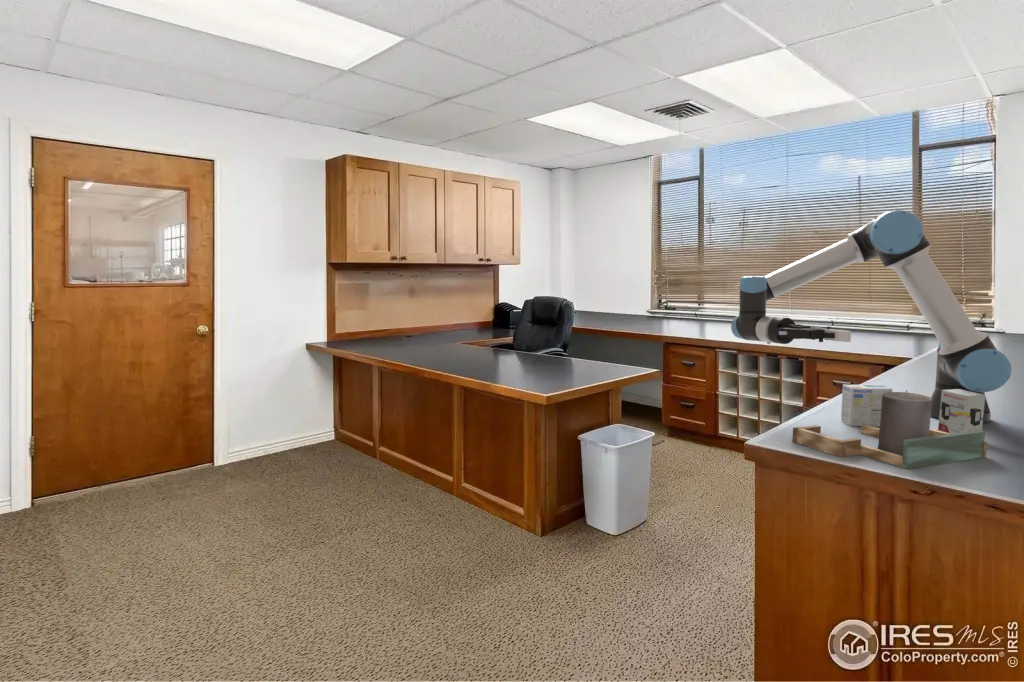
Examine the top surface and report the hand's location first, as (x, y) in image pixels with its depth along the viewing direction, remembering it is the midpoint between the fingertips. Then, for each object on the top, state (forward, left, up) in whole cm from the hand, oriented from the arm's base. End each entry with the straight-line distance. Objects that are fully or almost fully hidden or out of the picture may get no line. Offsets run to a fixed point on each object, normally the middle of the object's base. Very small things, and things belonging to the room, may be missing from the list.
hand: (848, 336), depth 150 cm
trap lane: (-6, +9, -26) cm, 28 cm away
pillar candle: (-8, +13, -26) cm, 31 cm away
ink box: (-30, -5, -26) cm, 40 cm away
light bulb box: (-12, -16, -26) cm, 33 cm away
